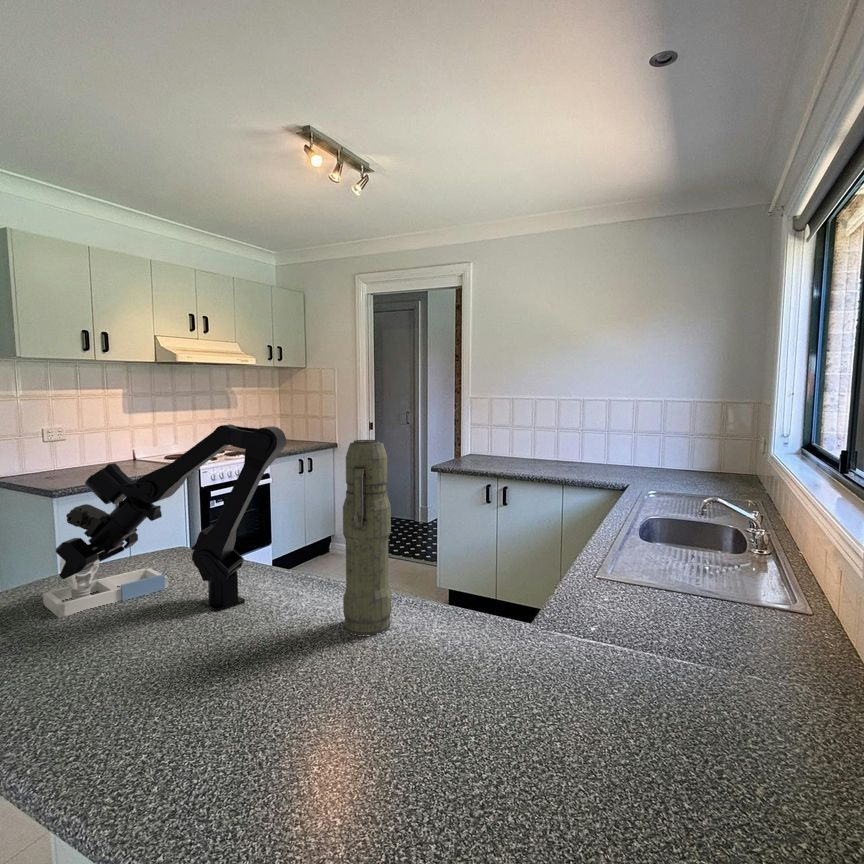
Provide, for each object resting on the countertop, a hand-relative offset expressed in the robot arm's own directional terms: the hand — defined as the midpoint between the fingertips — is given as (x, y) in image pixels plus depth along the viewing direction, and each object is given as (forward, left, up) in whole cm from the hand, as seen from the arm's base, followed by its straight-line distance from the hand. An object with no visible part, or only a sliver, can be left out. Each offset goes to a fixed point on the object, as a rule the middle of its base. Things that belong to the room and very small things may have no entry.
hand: (73, 571), depth 107 cm
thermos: (-55, -32, -7) cm, 64 cm away
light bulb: (-1, -1, -7) cm, 7 cm away
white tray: (-1, -6, -7) cm, 9 cm away
